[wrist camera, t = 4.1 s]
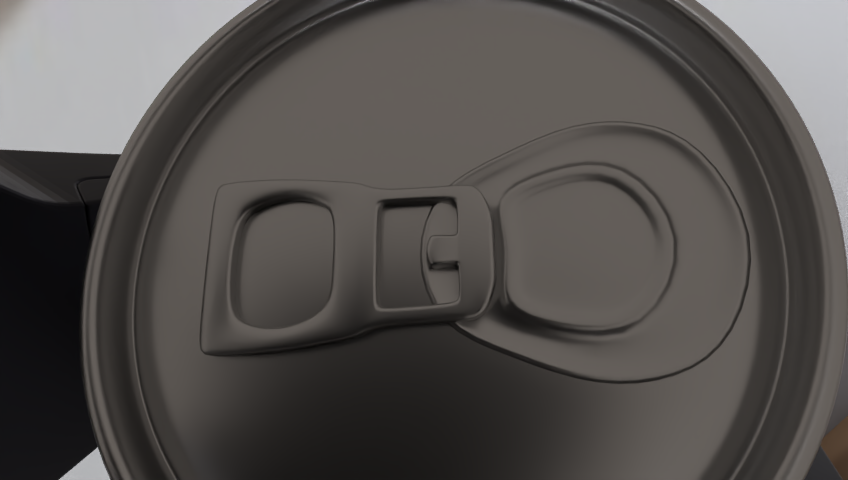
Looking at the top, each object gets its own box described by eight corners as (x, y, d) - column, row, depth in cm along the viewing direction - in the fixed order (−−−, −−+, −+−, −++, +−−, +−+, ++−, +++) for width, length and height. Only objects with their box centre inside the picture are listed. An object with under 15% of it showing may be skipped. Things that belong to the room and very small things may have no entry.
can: (647, 494, 14) (1122, 886, 2) (395, 489, 15) (-59, 734, 4) (618, 243, 16) (809, -182, 4) (396, 258, 17) (100, -43, 6)
